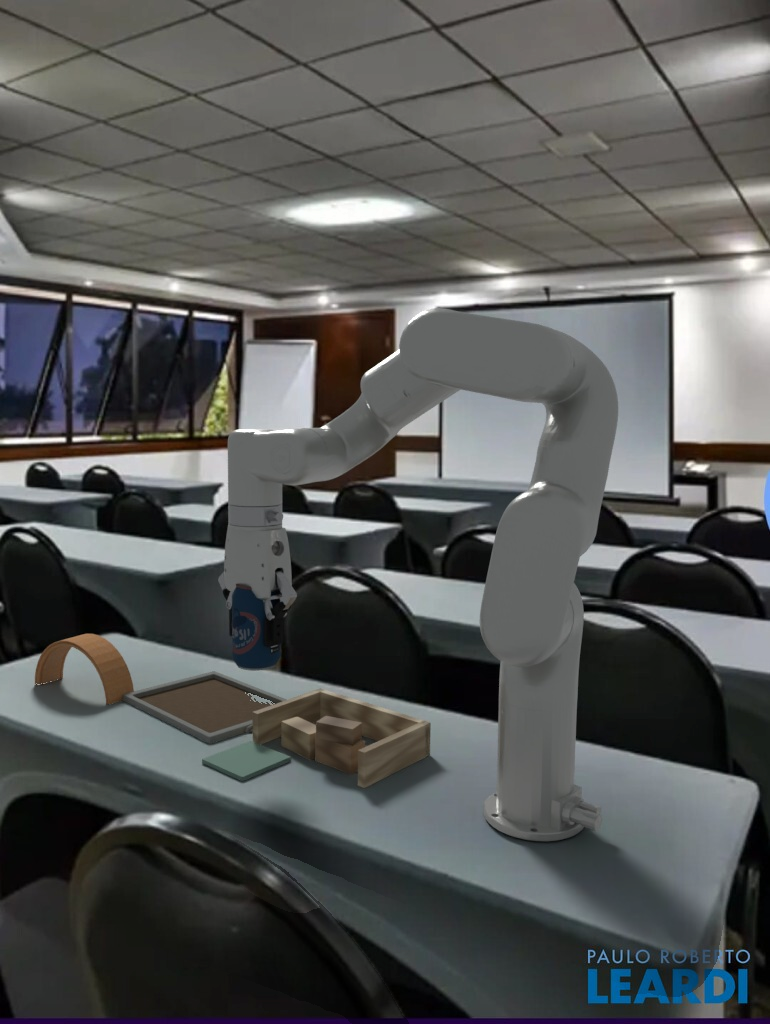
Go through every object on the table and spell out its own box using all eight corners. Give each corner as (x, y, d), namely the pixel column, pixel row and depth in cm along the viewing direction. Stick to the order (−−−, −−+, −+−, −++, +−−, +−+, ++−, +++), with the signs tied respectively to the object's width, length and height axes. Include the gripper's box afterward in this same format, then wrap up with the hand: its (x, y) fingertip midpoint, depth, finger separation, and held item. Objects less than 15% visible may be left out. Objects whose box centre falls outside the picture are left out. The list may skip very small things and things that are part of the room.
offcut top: (362, 738, 119) (362, 722, 118) (352, 745, 116) (352, 729, 116) (325, 731, 121) (325, 715, 121) (316, 738, 119) (315, 722, 118)
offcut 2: (364, 768, 118) (364, 741, 118) (350, 775, 116) (350, 747, 115) (329, 755, 123) (329, 729, 122) (315, 761, 120) (315, 735, 120)
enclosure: (430, 754, 123) (430, 722, 122) (364, 788, 112) (364, 752, 111) (320, 717, 137) (320, 688, 137) (252, 743, 126) (252, 712, 126)
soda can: (222, 666, 118) (221, 584, 116) (253, 654, 124) (253, 576, 122) (260, 675, 114) (259, 590, 113) (290, 662, 120) (290, 581, 119)
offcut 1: (325, 755, 123) (325, 729, 122) (309, 760, 121) (309, 734, 120) (297, 741, 128) (297, 716, 127) (281, 746, 126) (281, 721, 125)
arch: (108, 706, 143) (106, 649, 141) (34, 685, 153) (32, 633, 152) (134, 696, 148) (132, 642, 146) (61, 677, 158) (59, 626, 157)
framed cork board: (214, 670, 159) (316, 710, 138) (214, 678, 159) (316, 719, 138) (121, 694, 145) (219, 742, 124) (122, 702, 145) (219, 752, 124)
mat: (290, 760, 120) (290, 756, 120) (242, 781, 113) (242, 777, 113) (250, 744, 126) (250, 740, 126) (202, 763, 119) (202, 759, 119)
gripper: (317, 520, 113) (317, 646, 115) (237, 509, 125) (238, 624, 127) (275, 525, 108) (276, 658, 110) (196, 513, 119) (198, 633, 121)
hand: (256, 639), depth 118 cm, fingers closed on soda can, 7 cm apart
